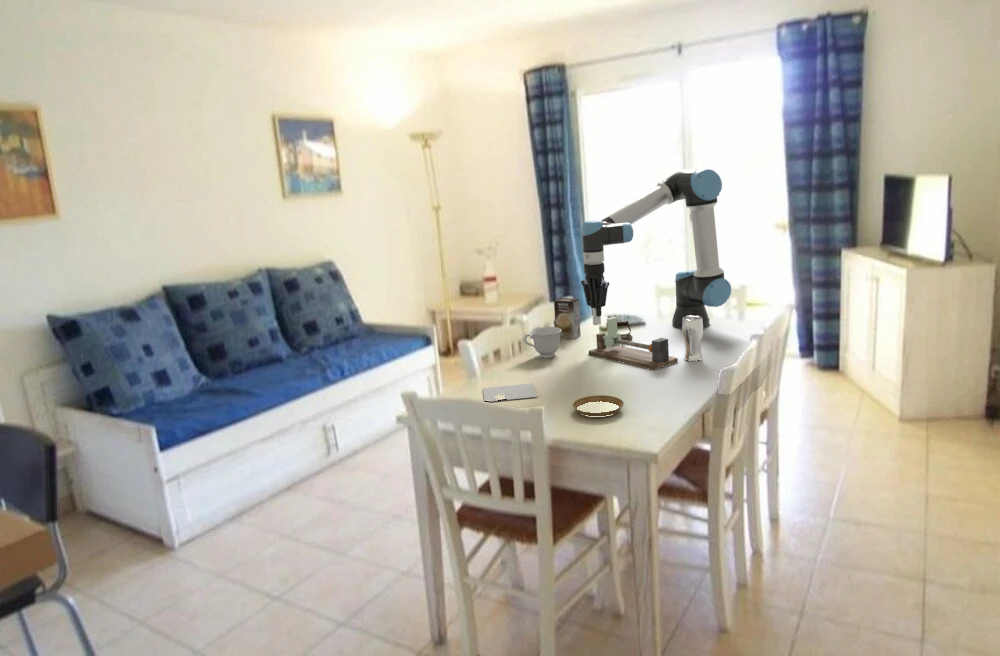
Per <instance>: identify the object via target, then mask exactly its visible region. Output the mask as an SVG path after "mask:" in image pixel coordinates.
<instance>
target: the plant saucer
mask: <svg viewBox="0 0 1000 656" xmlns="http://www.w3.org/2000/svg"><path fill="white" fill-rule="evenodd" d="M597 401H598V402H600V401H602V402H609V403H613V404H616V405H618V406H619V408H618V409H616V410H613V411H609V412H601V413H590V412H583V411H580V410H577V407H578V406H580V405H583V404H585V403H588V402H597ZM623 406H624V401H623V399H620V398H619V397H616V396H612V395H602V394H601V395H597V394H595V395H589V396H583V397H581V398H579V399H576V400H574V401H573V403H572V407H573V409H574V410H575V411H576V412H577V413H578V412H579V413H578V414H580V415H581V414H583V415H588V416H606V415H611V414H614V415H616V414H617V413H618V412H619V411H620V410H621V409H622V408H623ZM615 413H616V414H615ZM583 415H582V416H583Z"/></svg>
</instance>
